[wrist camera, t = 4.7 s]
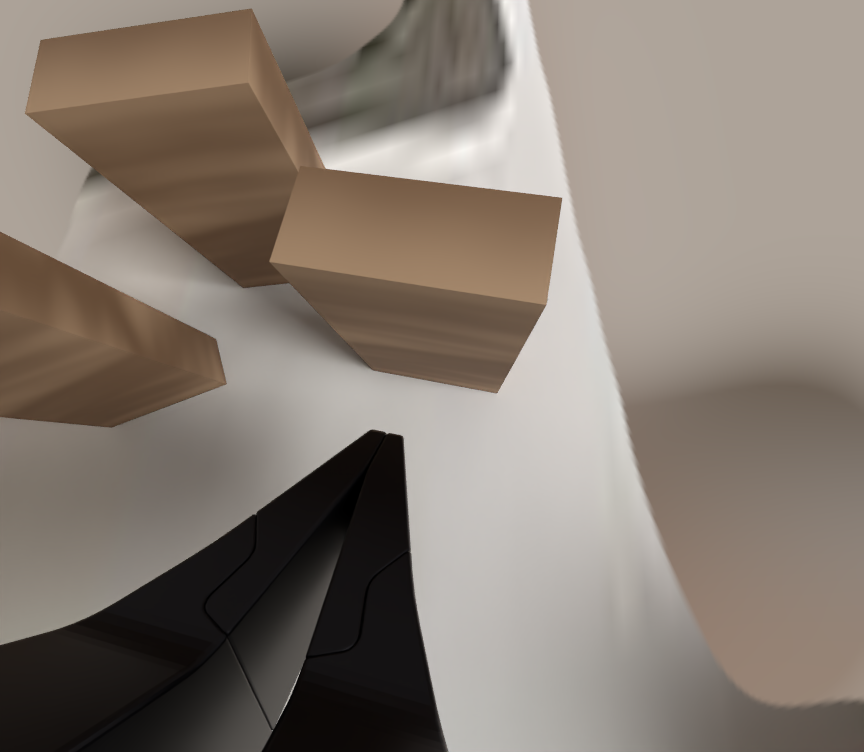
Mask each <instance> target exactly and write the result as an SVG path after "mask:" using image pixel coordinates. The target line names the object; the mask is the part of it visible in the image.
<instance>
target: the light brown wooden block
mask: <svg viewBox="0 0 864 752" xmlns="http://www.w3.org/2000/svg"><path fill="white" fill-rule="evenodd" d="M25 114H26V115H28V116H29V117H30V118H31V119H33V120H34V121H35V122H36V123H38V124H39V125H40V126H41V127H43V128H44V129H45V130H46V131H48V132H49V133H50V134H52V135H53V136H54V137H55V138H56V139H58V140H59V141H60V142H61V143H63V144H64V145H65V146H67V147H68V148H69V149H70V150H71V151H73V152H74V153H75V154H76V155H78V156H79V157H80V158H81V159H83V160H84V161H85V162H86V163H88V164H89V165H90V166H91V167H93V168H94V169H95V170H96V171H98V172H99V173H100V174H101V175H103V176H104V177H105V178H106V179H108V180H109V181H110V182H111V183H113V184H114V185H115V186H117V187H118V188H119V189H120V190H122V191H123V192H124V193H125V194H127V195H128V196H129V197H130V198H132V199H133V200H134V201H135V202H137V203H138V204H139V205H140V206H142V207H143V208H144V209H145V210H147V211H148V212H149V213H150V214H152V215H153V216H154V217H155V218H157V219H158V220H159V221H160V222H162V223H163V224H164V225H165V226H167V227H168V228H169V229H170V230H172V231H173V232H174V233H175V234H177V235H178V236H179V237H180V238H182V239H183V240H184V241H185V242H187V243H188V244H189V245H190V246H192V247H193V248H194V249H195V250H197V251H198V252H199V253H200V254H202V255H203V256H204V257H205V258H207V259H208V260H209V261H210V262H212V263H213V264H214V265H215V266H217V267H218V268H219V269H220V270H222V271H223V272H224V273H225V274H227V275H228V276H229V277H230V278H232V279H233V280H234V281H236V282H237V283H238V284H239V285H241V286H242V287H243V288H248V287H257V286H266V285H276V284H285V283H289V282H288V281H287V280H286V279H285V278H284V277H283V276H282V275H281V274H280V273H279V271H278V270H277V269H276V268H275V267H274V266H273V265H272V264H271V263H270V262H269V261H270V258H271V255H272V252H273V249H274V246H275V243H276V239H277V236H278V233H279V230H280V227H281V224H282V221H283V218H284V215H285V212H286V209H287V206H288V202H289V199H290V196H291V193H292V190H293V187H294V184H295V181H296V178H297V175H298V172H299V169H300V166H305V167H314V168H322V169H325V167H324V165H323V163H322V160H321V158H320V156H319V154H318V152H317V150H316V147H315V145H314V143H313V141H312V139H311V136H310V134H309V132H308V130H307V128H306V126H305V123H304V121H303V119H302V117H301V115H300V113H299V110H298V108H297V106H296V104H295V102H294V100H293V97H292V95H291V93H290V91H289V89H288V86H287V84H286V82H285V80H284V78H283V76H282V73H281V71H280V69H279V67H278V65H277V63H276V60H275V58H274V56H273V54H272V52H271V49H270V47H269V46H268V43H267V41H266V39H265V37H264V34H263V32H262V30H261V28H260V26H259V23H258V21H257V19H256V17H255V15H254V13H253V10H252V9H246V10H239V11H232V12H225V13H219V14H212V15H205V16H198V17H192V18H185V19H178V20H172V21H165V22H158V23H151V24H145V25H138V26H131V27H125V28H118V29H111V30H104V31H98V32H91V33H84V34H78V35H71V36H64V37H58V38H51V39H45V40H41V41H40V46H39V50H38V55H37V60H36V64H35V69H34V74H33V78H32V83H31V88H30V92H29V97H28V102H27V106H26V111H25Z"/></svg>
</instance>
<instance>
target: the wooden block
mask: <svg viewBox="0 0 864 752" xmlns="http://www.w3.org/2000/svg"><path fill="white" fill-rule="evenodd" d="M561 202H562V198H559V197H551V196H543V195H535V194H526V193H518V192H510V191H502V190H494V189H485V188H477V187H469V186H461V185H453V184H445V183H436V182H428V181H420V180H412V179H404V178H395V177H387V176H379V175H371V174H363V173H354V172H346V171H338V170H330V169H322V168H314V167H305V166H300V169H299V172H298V175H297V178H296V181H295V184H294V187H293V190H292V193H291V196H290V199H289V202H288V206H287V209H286V212H285V215H284V218H283V221H282V224H281V227H280V230H279V233H278V236H277V239H276V243H275V246H274V249H273V252H272V255H271V258H270V261H269V262H270V263H271V264H272V265H273V266H274V267H275V268H276V269H277V270H278V271H279V273H280V274H281V275H282V276H283V277H284V278H285V279H286V280H287V281H288V282H289V283H290V284H291V285H292V286H293V287H294V288H295V289H296V290H297V291H298V292H299V293H300V294H301V296H302V297H303V298H304V299H305V300H306V301H307V302H308V303H309V304H310V305H311V306H312V307H313V308H314V309H315V310H316V311H317V312H318V313H319V314H320V315H321V316H322V317H323V318H324V320H325V321H326V322H327V323H328V324H329V325H330V326H331V327H332V328H333V329H334V330H335V331H336V332H337V333H338V334H339V335H340V336H341V337H342V338H343V339H344V340H345V341H346V342H347V344H348V345H349V346H350V347H351V348H352V349H353V350H354V351H355V352H356V353H357V354H358V355H359V356H360V357H361V358H362V359H363V360H364V361H365V362H366V363H367V364H368V365H369V367H370V368H371V369H372V370H374V371H380V372H385V373H390V374H396V375H401V376H407V377H412V378H417V379H423V380H428V381H434V382H439V383H444V384H450V385H455V386H461V387H466V388H471V389H477V390H482V391H488V392H493V393H498V391H499V389H500V387H501V385H502V384H503V382H504V380H505V378H506V376H507V375H508V373H509V371H510V369H511V367H512V366H513V364H514V362H515V360H516V358H517V357H518V355H519V353H520V351H521V349H522V348H523V346H524V344H525V342H526V340H527V339H528V337H529V335H530V333H531V331H532V330H533V328H534V326H535V324H536V322H537V321H538V319H539V317H540V315H541V313H542V312H543V310H544V308H545V306H546V303H547V297H548V290H549V283H550V276H551V270H552V263H553V256H554V250H555V243H556V236H557V229H558V223H559V216H560V209H561Z"/></svg>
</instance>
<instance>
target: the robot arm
mask: <svg viewBox="0 0 864 752" xmlns="http://www.w3.org/2000/svg"><path fill="white" fill-rule="evenodd" d="M410 552H411V545H410V530H409V515H408V499H407V484H406V469H405V453H404V439H403V436H401V435H397V434H392V433H388V434H386V433H385V432H382V431H377V430H370V431H368V432H367V433H365V434H364V435H363V436H361V437H360V438H358V439H357V440H356V441H354V442H353V443H351V444H350V445H349V446H347V447H346V448H345V449H343V450H342V451H340V452H339V453H338V454H336V455H335V456H334V457H332V458H331V459H329V460H328V461H327V462H325V463H324V464H322V465H321V466H320V467H318V468H317V469H316V470H314V471H313V472H311V473H310V474H309V475H307V476H306V477H305V478H303V479H302V480H300V481H299V482H298V483H296V484H295V485H294V486H292V487H291V488H289V489H288V490H287V491H285V492H284V493H282V494H281V495H280V496H278V497H277V498H276V499H274V500H273V501H271V502H270V503H269V504H267V505H266V506H265V507H263V508H262V509H260V510H259V511H258V512H257V513H256V515H255V514H254V515H252V516H250V517H249V518H248V519H246V520H245V521H244V522H242V523H241V524H239V525H238V526H237V527H235V528H234V529H232V530H231V531H229V532H228V533H226V534H225V535H224V536H222V537H221V538H219V539H218V540H216V541H215V542H213V543H212V544H210V545H209V546H207V547H205V548H204V549H202V550H201V551H199V552H198V553H196V554H194V555H193V556H191V557H190V558H188V559H186V560H185V561H183V562H182V563H180V564H178V565H177V566H175V567H173V568H172V569H170V570H168V571H167V572H165V573H163V574H162V575H160V576H158V577H157V578H155V579H154V580H152V581H150V582H149V583H147V584H145V585H144V586H142V587H140V588H139V589H137V590H135V591H134V592H132V593H130V594H129V595H127V596H126V597H124V598H122V599H121V600H119V601H117V602H116V603H114V604H112V605H110V606H109V607H107V608H105V609H103V610H102V611H100V612H98V613H96V614H94V615H92V616H90V617H87V618H85V619H83V620H81V621H78V622H76V623H74V624H71V625H68V626H66V627H63V628H60V629H57V630H54V631H50V632H47V633H43V634H39V635H36V636H32V637H29V638H25V639H21V640H18V641H14V642H10V643H7V644H3V645H0V752H448V749H447V745H446V742H445V738H444V735H443V731H442V727H441V723H440V719H439V714H438V710H437V706H436V701H435V696H434V691H433V686H432V682H431V677H430V672H429V667H428V662H427V657H426V652H425V647H424V642H423V637H422V632H421V627H420V622H419V617H418V611H417V605H416V599H415V592H414V582H413V572H412V558H411V553H410ZM305 658H306V659H305ZM302 665H303V666H302ZM301 667H302V669H301ZM300 670H301V672H300ZM299 672H300V674H299ZM298 674H299V677H298V680H297V682H296V685H295V687H294V690H293V692H292V694H291V697H290V699H289V701H288V703H287V705H286V707H285V709H284V711H283V713H282V715H281V716H280V714H281V712H282V710H283V707H284V705H285V703H286V701H287V698H288V696H289V694H290V692H291V690H292V687H293V685H294V683H295V681H296V678H297V676H298ZM279 716H280V718H279ZM278 718H279V720H278ZM277 721H278V722H277ZM276 723H277V724H276ZM275 725H276V726H275ZM271 730H273V731H271Z"/></svg>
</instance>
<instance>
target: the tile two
mask: <svg viewBox="0 0 864 752" xmlns="http://www.w3.org/2000/svg"><path fill="white" fill-rule="evenodd" d="M225 384H227V383H226V379H225V375H224V371H223V366H222V362H221V358H220V354H219V350H218V346H217V341H216V339H215V338H213V337H211V336H209V335H207V334H205V333H203V332H201V331H199V330H197V329H194V328H192V327H190V326H188V325H186V324H184V323H182V322H180V321H178V320H176V319H174V318H172V317H170V316H168V315H166V314H164V313H162V312H160V311H158V310H156V309H154V308H152V307H150V306H148V305H146V304H144V303H142V302H140V301H138V300H136V299H134V298H132V297H130V296H128V295H126V294H124V293H122V292H120V291H118V290H116V289H114V288H112V287H110V286H108V285H106V284H104V283H102V282H100V281H98V280H96V279H94V278H92V277H90V276H88V275H86V274H84V273H82V272H80V271H78V270H76V269H74V268H72V267H70V266H68V265H66V264H64V263H62V262H60V261H58V260H56V259H54V258H52V257H50V256H48V255H46V254H44V253H41V252H40V251H38V250H36V249H34V248H31V247H30V246H28V245H26V244H24V243H22V242H20V241H18V240H16V239H14V238H12V237H10V236H8V235H6V234H3V233H2V232H0V417H5V418H16V419H27V420H37V421H48V422H59V423H69V424H80V425H91V426H101V427H114V426H117V425H120V424H122V423H125V422H127V421H130V420H133V419H135V418H138V417H141V416H143V415H146V414H149V413H151V412H154V411H157V410H159V409H162V408H165V407H167V406H170V405H173V404H175V403H178V402H180V401H183V400H186V399H188V398H191V397H194V396H196V395H199V394H202V393H204V392H207V391H210V390H212V389H215V388H218V387H220V386H223V385H225Z"/></svg>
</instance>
